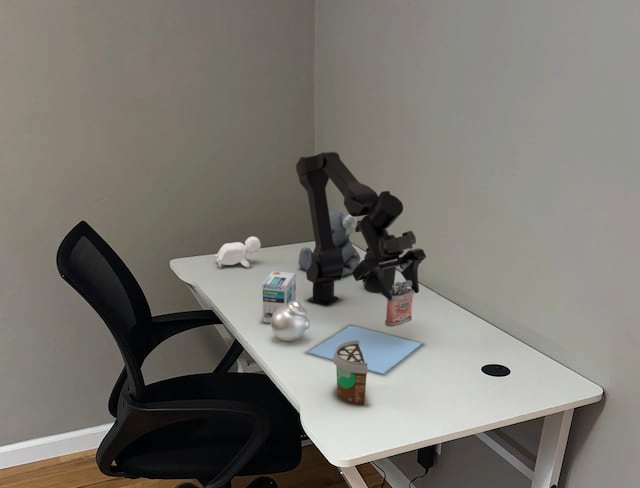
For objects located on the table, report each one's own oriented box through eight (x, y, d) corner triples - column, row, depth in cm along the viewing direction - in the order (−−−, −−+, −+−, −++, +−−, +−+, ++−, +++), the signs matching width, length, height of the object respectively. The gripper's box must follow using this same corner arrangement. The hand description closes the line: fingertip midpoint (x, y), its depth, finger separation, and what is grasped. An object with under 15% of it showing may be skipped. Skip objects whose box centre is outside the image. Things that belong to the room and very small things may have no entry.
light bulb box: (287, 325, 181) (287, 285, 176) (262, 322, 182) (261, 283, 177) (296, 310, 190) (296, 272, 185) (272, 308, 191) (272, 270, 186)
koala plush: (294, 268, 222) (294, 206, 213) (336, 258, 232) (338, 198, 223) (330, 282, 210) (332, 218, 201) (373, 271, 221) (376, 209, 212)
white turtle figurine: (224, 278, 222) (267, 258, 222) (213, 254, 218) (257, 235, 218) (221, 270, 229) (263, 251, 230) (210, 247, 225) (253, 227, 225)
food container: (328, 381, 153) (330, 339, 148) (356, 380, 153) (358, 339, 148) (335, 409, 142) (336, 365, 137) (365, 408, 142) (367, 364, 138)
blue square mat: (350, 326, 180) (350, 325, 180) (421, 344, 171) (421, 343, 171) (308, 353, 165) (308, 352, 165) (382, 374, 156) (382, 373, 156)
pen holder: (401, 288, 207) (403, 255, 202) (381, 296, 201) (383, 262, 196) (376, 280, 212) (378, 248, 208) (356, 288, 206) (357, 255, 202)
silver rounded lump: (301, 349, 167) (301, 310, 163) (265, 343, 170) (264, 305, 165) (314, 335, 175) (314, 298, 170) (279, 330, 178) (279, 293, 173)
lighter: (391, 328, 165) (395, 288, 161) (381, 323, 168) (384, 284, 163) (414, 319, 170) (418, 281, 165) (404, 315, 172) (407, 277, 168)
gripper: (363, 226, 156) (391, 287, 153) (424, 215, 165) (452, 272, 162) (340, 251, 165) (367, 309, 162) (400, 239, 175) (426, 294, 172)
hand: (404, 295), depth 164 cm, fingers closed on lighter, 8 cm apart
